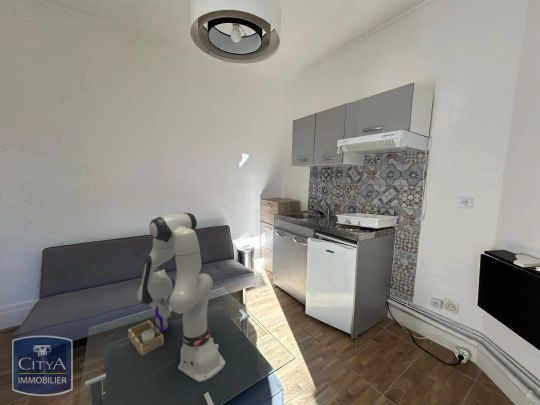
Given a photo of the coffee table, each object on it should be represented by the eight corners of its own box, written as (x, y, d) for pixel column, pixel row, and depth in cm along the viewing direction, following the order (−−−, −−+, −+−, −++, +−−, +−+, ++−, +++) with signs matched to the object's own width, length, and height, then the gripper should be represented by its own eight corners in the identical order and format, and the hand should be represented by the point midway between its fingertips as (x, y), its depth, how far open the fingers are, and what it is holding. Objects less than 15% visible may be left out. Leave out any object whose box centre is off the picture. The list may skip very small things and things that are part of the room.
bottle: (169, 330, 134) (167, 301, 133) (159, 335, 130) (157, 306, 128) (164, 325, 139) (161, 298, 137) (154, 330, 135) (151, 302, 133)
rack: (164, 345, 122) (163, 335, 121) (141, 357, 114) (140, 346, 113) (150, 329, 135) (149, 320, 135) (129, 339, 127) (127, 329, 127)
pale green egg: (157, 344, 121) (156, 332, 121) (145, 351, 117) (143, 338, 116) (153, 339, 125) (151, 327, 125) (141, 345, 121) (139, 332, 120)
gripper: (172, 300, 128) (174, 324, 129) (157, 289, 142) (159, 310, 143) (160, 305, 123) (162, 329, 124) (146, 293, 137) (148, 315, 138)
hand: (161, 319), depth 134 cm, fingers open, 8 cm apart
